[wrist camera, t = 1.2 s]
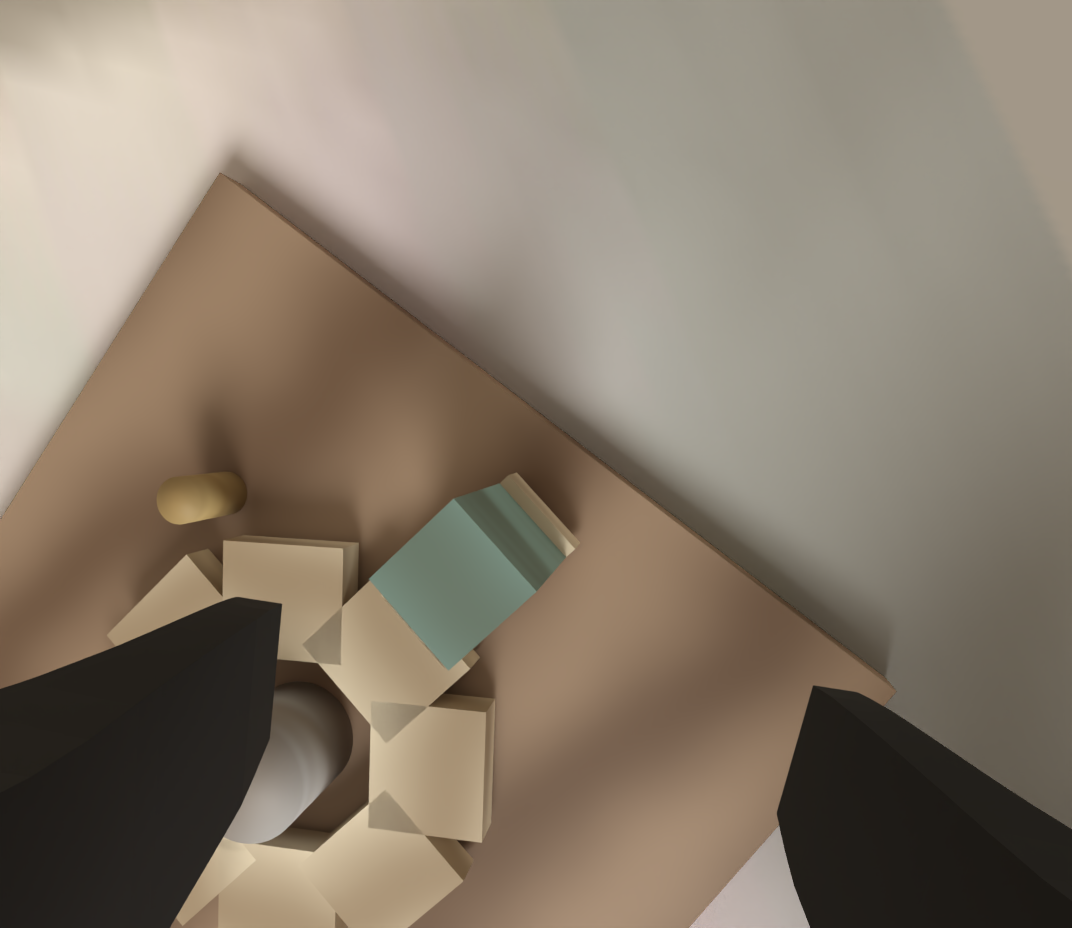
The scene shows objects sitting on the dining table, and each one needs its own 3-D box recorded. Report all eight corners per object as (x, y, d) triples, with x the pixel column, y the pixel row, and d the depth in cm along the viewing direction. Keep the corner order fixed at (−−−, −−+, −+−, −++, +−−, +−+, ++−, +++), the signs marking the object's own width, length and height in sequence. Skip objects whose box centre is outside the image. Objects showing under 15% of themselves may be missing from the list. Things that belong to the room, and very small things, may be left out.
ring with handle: (291, 1012, 22) (181, 1178, 17) (47, 710, 23) (-123, 788, 18) (697, 672, 20) (703, 755, 15) (405, 350, 21) (320, 327, 16)
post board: (885, 678, 20) (935, 739, 16) (393, 1241, 23) (335, 1405, 20) (239, 183, 23) (147, 133, 19) (-125, 755, 26) (-269, 814, 22)
